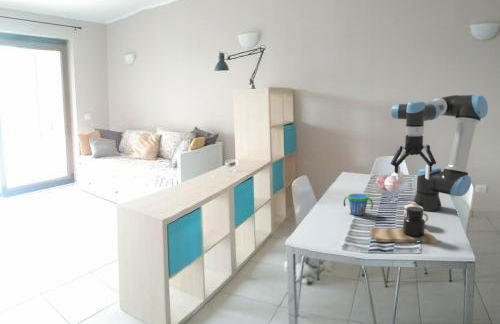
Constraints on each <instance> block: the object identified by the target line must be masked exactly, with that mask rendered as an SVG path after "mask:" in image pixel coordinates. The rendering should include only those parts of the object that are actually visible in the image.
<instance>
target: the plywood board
mask: <svg viewBox="0 0 500 324" xmlns="http://www.w3.org/2000/svg"><path fill="white" fill-rule="evenodd" d="M369 232H370V234H371V236H372V237H373V239H374V240H375V242H377V243H408V242H417V241H420V242H421V243H420V244H422V243H423V244H438V239H437V238H436V237H435V236H434V235H433V234H432V233H431V232H430V231H429V230H428V229H426V228H425V229H424V236H421V237H411V236H408V235H406V234H404V233H403V228H386V227H385V228H383V227H382V228H379V227H377V228H375V227H370V228H369Z"/></svg>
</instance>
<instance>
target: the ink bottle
mask: <svg viewBox="0 0 500 324" xmlns="http://www.w3.org/2000/svg"><path fill="white" fill-rule="evenodd" d="M423 213H424V211H423V209H422V208H419V207H408V208H407V217H406V218H404V217H403V219H404V223H403V222H402V223H403V224H402V229H403V233H404V234H406V235H408V236H411V237H421V236H424V229H426V228H425V227H426V222H425V220H424V219H423V217H424V215H423Z"/></svg>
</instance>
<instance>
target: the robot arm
mask: <svg viewBox="0 0 500 324" xmlns="http://www.w3.org/2000/svg"><path fill="white" fill-rule="evenodd" d="M488 111H489V105H488V101H487V99H486V97H485V96H484V95H477V94H465V95H464V94H463V95H462V94H461V95H459V94H458V95H457V94H453V95H448V96H443V97H442V96H441V97H437V98H435V99H433V100H428V101H426V100H425V101H409V102H407V103H397V104H396V103H395V104H393V106H391V110H390V115H391V118H393V119H395V120H405V121H406V124H405V141H404V142H405V145H398V146H397V151H396V152H395V154H394V156H393V158H392V160H391V162H390V165H392V166H393V167H394V173H395V174H396V176H395V177H396V178H395V179H396V180H397V181H400V179H401V177H400V176H401V166H400V165H401V164H402V163H403V162H404V160H405V159H406V158H407V157H409V156H418V155H419V156H420V157H421V158H422V159H423V160H424V162H425V163H426V164H425V167H421V168H419V169H418V170H417V175H416V192H415V196H414V198H413V200H412V202H416V204H417V205H419V206H421V207H423V209H424V210H423V212H424V211H425V212H438V211H442V203H441V199H440V194H445V195H449V196H453V197H462V196H465V195H466V194H467V193H468V191H469V190H470V187H471V185H472V177H470V176H469V171H468V170H467V165H468V161H469V157H470V152H471V147H472V143H473V140H474V135H475V130H476V126H477V125H478V124H479V123H480V122H481V119H483V118H486V116H487V114H488ZM440 116H445V117H455V118H454V119H455V121H456V122H457V123H456V128H455V132H454V138H453V141H452V145H451V150H450V154H449V159H448V164H447V166H445V167H444V168H443V171H442V169H441V167H433V165H436V164H437V161H436V160H435V157H434V155H433V153H432V151H431V146H430V145H429V144H426V143H425V144H424V136H423V134H424V125H425V123H424V122H426V121H427V122H428V121H433V120H436V119H437V118H439V117H440ZM423 150H425V152H426V154H427V156H428V157H427V156H426V155H425V153H423ZM403 151H404V152H403ZM402 152H403V153H402ZM401 154H402V155H401ZM428 158H429V159H428Z"/></svg>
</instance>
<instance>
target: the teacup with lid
mask: <svg viewBox="0 0 500 324" xmlns="http://www.w3.org/2000/svg"><path fill="white" fill-rule="evenodd" d="M408 207H419V208H422V209H423V207H421V206H419V205H417V204H416V202H413V201H412V202H411V203H409V204H405V205H403V222H402V223H404V218H406V217H407V208H408ZM423 210H424V209H423ZM423 216H425V220H424V221H425V223H427V222H428V220H429V216H428V214H427V213H425V212H423Z"/></svg>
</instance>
